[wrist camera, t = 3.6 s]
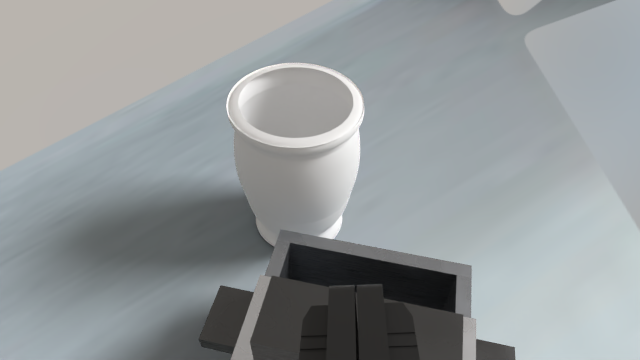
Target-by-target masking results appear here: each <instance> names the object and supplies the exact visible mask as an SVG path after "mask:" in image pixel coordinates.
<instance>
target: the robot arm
mask: <svg viewBox="0 0 640 360" xmlns="http://www.w3.org/2000/svg"><path fill="white" fill-rule="evenodd" d="M357 310H358V320H357ZM299 360H420V357H419V351H418V345H417V339H416V335H415V327H414V321H413V316H412V314H411V313H410V312H409V310H408V309H407V308H406V306H405V305H404V303H403V302H396V303H384V296H383V286H382V284H370V285H357V308H356V295H355V285H344V286H329V297H328V305H317V306H311V307H310V309H309V310H308V312H307V314H306V315H305V317H304V318H303V321H302V331H301V341H300V352H299Z"/></svg>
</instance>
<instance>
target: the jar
mask: <svg viewBox="0 0 640 360" xmlns="http://www.w3.org/2000/svg"><path fill="white" fill-rule="evenodd" d="M227 113H228V118H229V121H230V123H231V126H232V127H233V129H234V130H235V131H234V157H235V164H236V169H237V173H238V177H239V180H240V183H241V185H242V188H243V190H244V192H245V194H246V197H247V200H248V202H249V205H250V207H251V209H252V211H253V212H254V214H255V216H256V225H257V228H258V231H259V233H260V234H261V236H262V237H263V238H264V239H265V240H266V241H267V242H268V243H269V244H271V245H272V246H274V247H275V244H276V241H277V238H278V236H279V233H280V230H287V231H292V232H297V233H302V234H308V235H313V236H318V237H323V238H329V239H334V238H335V237H336V235H337V234H338V232H339V230H340V228H341V224H342V213H343V212H344V210H345V208H346V205H347V203H348V200H349V197H350V194H351V191H352V189H353V186H354V183H355V180H356V177H357V172H358V167H359V160H360V136H359V127H360V125H361V123H362V120H363V117H364V100H363V96H362V94H361V92H360V90H359V88H358V87H357V86H356V85H355V84H354V83H353V82H352V81H351V80H350V79H349V78H347V77H346V76H344V75H343V74H341V73H339V72H337V71H335V70H332V69H330V68H327V67H323V66H320V65H315V64H308V63H284V64H277V65H272V66H268V67H264V68H261V69H259V70H256V71H254V72H252V73H250V74H248V75H247V76H245V77H244V78H242V79H241V80H240V81H239V82H237V83H236V85H235V86H234V87H233V88H232V90H231V91H230V93H229V95H228V98H227Z"/></svg>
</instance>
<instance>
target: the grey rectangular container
mask: <svg viewBox="0 0 640 360" xmlns="http://www.w3.org/2000/svg"><path fill="white" fill-rule="evenodd" d="M265 276H268V277H271V276H277V277H282V278H287V279H292V280H297V281H302V282H306V283H311V284H316V285H321V286H326V287H329V286H344V285H355V293H357V285H370V284H382V286H383V296H384V298H385V299H390V300H394V301H399V302H404V303H409V304H414V305H419V306H424V307H429V308H434V309H438V310H443V311H448V312H453V313H458V314H463V317H468V318H471V266H470V265H465V264H460V263H454V262H449V261H444V260H439V259H433V258H428V257H423V256H418V255H412V254H407V253H402V252H397V251H391V250H386V249H381V248H376V247H370V246H365V245H360V244H355V243H350V242H344V241H339V240H334V239H329V238H323V237H318V236H313V235H308V234H302V233H297V232H292V231H287V230H280V233H279V236H278V238H277V241H276V244H275V247H274V250H273V253H272V256H271V259H270V262H269V265H268V268H267V271H266V274H265ZM253 294H254V292H250V291H245V290H240V289H235V288H231V287H226V286H220V288H219V291H218V293H217V296H216V298H215V300H214V303H213V305H212V308H211V310H210V313H209V315H208V318H207V320H206V323H205V325H204V328H203V330H202V333H201V335H200V337H199V341H200V343H201V346H202V347H205V348H210V349H214V350H219V351H223V352H227V353H232V354H233V351H234V349H235V346H236V343H237V340H238V337H239V334H240V331H241V328H242V326H243V323H244V320H245V317H246V314H247V311H248V308H249V306H250V303H251V300H252V297H253ZM476 360H515V347H511V346H506V345H501V344H497V343H492V342H487V341H482V340H478V339H476Z"/></svg>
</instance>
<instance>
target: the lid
mask: <svg viewBox="0 0 640 360" xmlns="http://www.w3.org/2000/svg"><path fill="white" fill-rule="evenodd" d="M355 295H356V308H357V293H355ZM328 297H329V287H326V286H321V285H316V284H311V283H306V282H302V281H297V280H292V279H287V278H282V277H277V276H271V277H268V276H263V275H260V277H259V280H258V283H257V286H256V288H255V291H254V294H253V297H252V300H251V303H250V306H249V308H248V311H247V314H246V317H245V320H244V323H243V326H242V328H241V331H240V334H239V337H238V340H237V343H236V346H235V349H234V351H233V354H232V357H231V360H299V352H300V341H301V331H302V321H303V318H304V317H305V315H306V314H307V312H308V310H309V309H310V307H311V306H317V305H328ZM396 302H399V301H394V300H390V299H385V298H384V303H396ZM403 303H404V302H403ZM404 305H405V306H406V308H407V309H408V310H409V312H410V313H411V314H412V316H413V321H414V327H415V335H416V339H417V345H418V351H419V357H420V360H476V319H473V318H468V317H463V314H458V313H453V312H448V311H443V310H438V309H434V308H429V307H424V306H419V305H414V304H409V303H404ZM357 320H358V310H357Z"/></svg>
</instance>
